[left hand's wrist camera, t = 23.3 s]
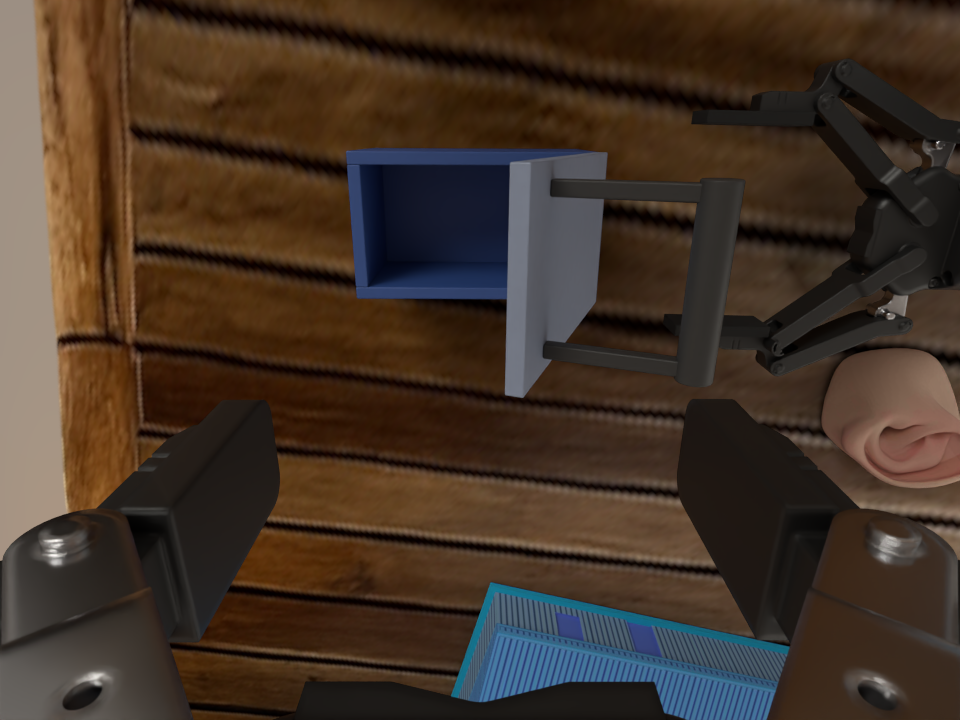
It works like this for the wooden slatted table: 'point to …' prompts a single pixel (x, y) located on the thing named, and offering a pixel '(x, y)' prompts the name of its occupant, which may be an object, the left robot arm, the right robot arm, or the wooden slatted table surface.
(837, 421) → the anatomical model
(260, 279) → the wooden slatted table surface
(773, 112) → the right robot arm
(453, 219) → the chest
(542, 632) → the model building
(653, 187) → the grey lid
